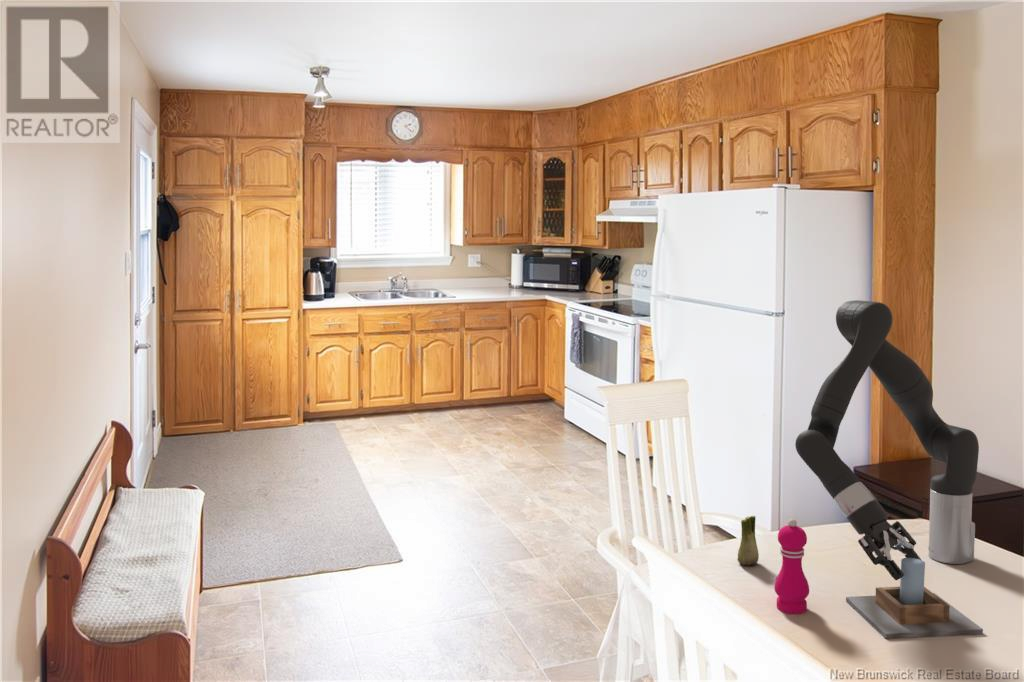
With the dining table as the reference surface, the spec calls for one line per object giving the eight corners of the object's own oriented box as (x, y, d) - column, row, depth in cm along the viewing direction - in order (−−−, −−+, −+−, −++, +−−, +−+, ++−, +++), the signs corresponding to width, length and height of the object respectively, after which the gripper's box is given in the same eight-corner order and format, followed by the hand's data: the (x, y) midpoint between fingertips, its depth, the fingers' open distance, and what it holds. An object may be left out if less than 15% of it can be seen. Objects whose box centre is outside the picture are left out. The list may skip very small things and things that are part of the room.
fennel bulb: (752, 559, 214) (752, 512, 213) (764, 565, 209) (764, 518, 208) (732, 562, 212) (732, 515, 211) (744, 569, 208) (744, 521, 206)
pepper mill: (811, 616, 181) (812, 525, 178) (776, 614, 182) (776, 523, 180) (806, 602, 188) (807, 514, 186) (772, 600, 189) (773, 513, 187)
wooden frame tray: (934, 597, 188) (934, 577, 188) (982, 633, 171) (983, 612, 170) (846, 601, 188) (846, 581, 187) (885, 638, 170) (885, 617, 169)
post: (915, 607, 181) (918, 557, 180) (926, 616, 177) (929, 565, 176) (895, 607, 181) (897, 557, 180) (905, 616, 177) (908, 565, 176)
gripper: (854, 505, 179) (906, 573, 172) (889, 491, 188) (940, 555, 180) (831, 523, 184) (880, 590, 176) (866, 509, 193) (914, 572, 185)
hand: (910, 572), depth 178 cm, fingers open, 8 cm apart
